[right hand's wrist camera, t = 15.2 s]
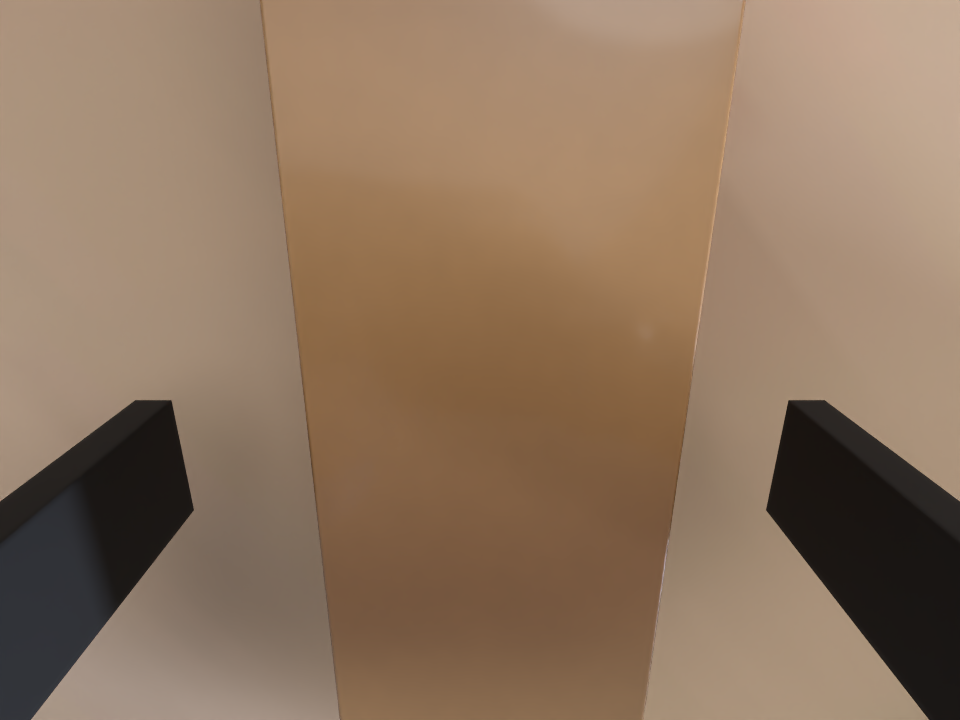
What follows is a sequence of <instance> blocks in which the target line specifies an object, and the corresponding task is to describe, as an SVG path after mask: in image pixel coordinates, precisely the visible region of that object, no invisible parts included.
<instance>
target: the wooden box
mask: <svg viewBox="0 0 960 720" xmlns="http://www.w3.org/2000/svg"><path fill="white" fill-rule="evenodd" d="M745 1H746V0H260V7H261V16H262V25H263V34H264V43H265V52H266V61H267V70H268V79H269V88H270V97H271V106H272V115H273V124H274V133H275V142H276V151H277V160H278V169H279V178H280V187H281V196H282V205H283V214H284V223H285V232H286V241H287V250H288V259H289V268H290V276H291V285H292V294H293V303H294V312H295V321H296V330H297V339H298V348H299V357H300V366H301V375H302V384H303V393H304V402H305V411H306V420H307V429H308V438H309V447H310V456H311V465H312V474H313V483H314V492H315V501H316V510H317V519H318V528H319V537H320V545H321V554H322V563H323V572H324V581H325V590H326V599H327V608H328V617H329V626H330V635H331V644H332V653H333V662H334V671H335V680H336V689H337V698H338V707H339V716H340V720H643V718H644V711H645V704H646V697H647V690H648V683H649V676H650V669H651V662H652V655H653V648H654V641H655V634H656V627H657V620H658V613H659V606H660V599H661V592H662V585H663V578H664V571H665V564H666V557H667V550H668V543H669V536H670V528H671V521H672V514H673V507H674V500H675V493H676V486H677V479H678V472H679V465H680V458H681V451H682V444H683V437H684V430H685V423H686V416H687V409H688V402H689V395H690V388H691V381H692V374H693V367H694V360H695V353H696V346H697V339H698V332H699V325H700V318H701V311H702V304H703V296H704V289H705V282H706V275H707V268H708V261H709V254H710V247H711V240H712V233H713V226H714V219H715V212H716V205H717V198H718V191H719V184H720V177H721V170H722V163H723V156H724V149H725V142H726V135H727V128H728V121H729V114H730V107H731V100H732V93H733V86H734V79H735V71H736V64H737V57H738V50H739V43H740V36H741V29H742V22H743V15H744V8H745Z"/></svg>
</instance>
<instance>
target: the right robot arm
mask: <svg viewBox="0 0 960 720" xmlns="http://www.w3.org/2000/svg"><path fill="white" fill-rule="evenodd" d="M193 511H194V508H193V504H192V499H191V494H190V489H189V484H188V479H187V474H186V469H185V464H184V460H183V455H182V450H181V445H180V440H179V435H178V430H177V425H176V420H175V415H174V411H173V406H172V401H171V400H135V401H134V402H133V403H131V404H130V405H129V406H127V407H126V408H125V409H123V410H122V411H121V412H119V413H118V414H117V415H115V416H114V417H113V418H111V419H110V420H109V421H107V422H106V423H105V424H103V425H102V426H101V427H99V428H98V429H97V430H95V431H94V432H93V433H91V434H90V435H89V436H87V437H86V438H85V439H83V440H82V441H81V442H79V443H78V444H77V445H75V446H74V447H72V448H71V449H70V450H68V451H67V452H66V453H64V454H63V455H62V456H60V457H59V458H58V459H56V460H55V461H54V462H52V463H51V464H50V465H48V466H47V467H46V468H44V469H43V470H42V471H40V472H39V473H38V474H36V475H35V476H34V477H32V478H31V479H30V480H28V481H27V482H26V483H24V484H23V485H22V486H20V487H19V488H18V489H16V490H15V491H14V492H12V493H11V494H10V495H8V496H7V497H6V498H4V499H3V500H2V501H0V720H31V719H32V717H33V716H34V715H35V714H36V712H37V711H38V710H39V708H40V707H41V706H42V705H43V703H44V702H45V701H46V699H47V698H48V697H49V696H50V694H51V693H52V692H53V690H54V689H55V688H56V687H57V685H58V684H59V683H60V681H61V680H62V679H63V678H64V676H65V675H66V674H67V672H68V671H69V670H70V669H71V667H72V666H73V665H74V663H75V662H76V661H77V660H78V658H79V657H80V656H81V654H82V653H83V652H84V651H85V649H86V648H87V647H88V645H89V644H90V643H91V642H92V640H93V639H94V638H95V636H96V635H97V634H98V633H99V631H100V630H101V629H102V627H103V626H104V625H105V624H106V622H107V621H108V620H109V618H110V617H111V616H112V615H113V613H114V612H115V611H116V609H117V608H118V607H119V606H120V604H121V603H122V602H123V601H124V599H125V598H126V597H127V595H128V594H129V593H130V592H131V590H132V589H133V588H134V586H135V585H136V584H137V583H138V581H139V580H140V579H141V577H142V576H143V575H144V574H145V572H146V571H147V570H148V568H149V567H150V566H151V565H152V563H153V562H154V561H155V559H156V558H157V557H158V556H159V554H160V553H161V552H162V550H163V549H164V548H165V547H166V545H167V544H168V543H169V541H170V540H171V539H172V538H173V536H174V535H175V534H176V532H177V531H178V530H179V529H180V527H181V526H182V525H183V523H184V522H185V521H186V520H187V518H188V517H189V516H190V514H191V513H192V512H193ZM766 511H767V512H768V513H769V514H770V516H771V517H772V518H773V520H774V521H775V522H776V523H777V525H778V526H779V527H780V529H781V530H782V531H783V532H784V534H785V535H786V536H787V538H788V539H789V540H790V541H791V543H792V544H793V545H794V547H795V548H796V549H797V550H798V552H799V553H800V554H801V556H802V557H803V558H804V559H805V561H806V562H807V563H808V565H809V566H810V567H811V568H812V570H813V571H814V572H815V574H816V575H817V576H818V577H819V579H820V580H821V581H822V583H823V584H824V585H825V586H826V588H827V589H828V590H829V592H830V593H831V594H832V595H833V597H834V598H835V599H836V601H837V602H838V603H839V604H840V606H841V607H842V608H843V609H844V611H845V612H846V613H847V615H848V616H849V617H850V618H851V620H852V621H853V622H854V624H855V625H856V626H857V627H858V629H859V630H860V631H861V633H862V634H863V635H864V636H865V638H866V639H867V640H868V642H869V643H870V644H871V645H872V647H873V648H874V649H875V651H876V652H877V653H878V654H879V656H880V657H881V658H882V660H883V661H884V662H885V663H886V665H887V666H888V667H889V669H890V670H891V671H892V672H893V674H894V675H895V676H896V678H897V679H898V680H899V681H900V683H901V684H902V685H903V687H904V688H905V689H906V690H907V692H908V693H909V694H910V696H911V697H912V698H913V699H914V701H915V702H916V703H917V705H918V706H919V707H920V708H921V710H922V711H923V712H924V714H925V715H926V716H927V717H928V719H929V720H960V501H958V500H957V499H956V498H954V497H953V496H952V495H950V494H949V493H948V492H946V491H945V490H944V489H942V488H941V487H940V486H938V485H937V484H936V483H934V482H933V481H932V480H930V479H929V478H928V477H926V476H925V475H924V474H922V473H921V472H920V471H918V470H917V469H916V468H914V467H913V466H912V465H910V464H909V463H908V462H906V461H905V460H904V459H902V458H901V457H900V456H898V455H897V454H896V453H894V452H893V451H892V450H890V449H889V448H888V447H886V446H885V445H883V444H882V443H881V442H879V441H878V440H877V439H875V438H874V437H873V436H871V435H870V434H869V433H867V432H866V431H865V430H863V429H862V428H861V427H859V426H858V425H857V424H855V423H854V422H853V421H851V420H850V419H849V418H847V417H846V416H845V415H843V414H842V413H841V412H839V411H838V410H837V409H835V408H834V407H833V406H831V405H830V404H829V403H827V402H826V401H825V400H789V401H788V406H787V411H786V415H785V420H784V425H783V430H782V435H781V440H780V445H779V450H778V455H777V460H776V464H775V469H774V474H773V479H772V484H771V489H770V494H769V499H768V504H767V508H766Z"/></svg>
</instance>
